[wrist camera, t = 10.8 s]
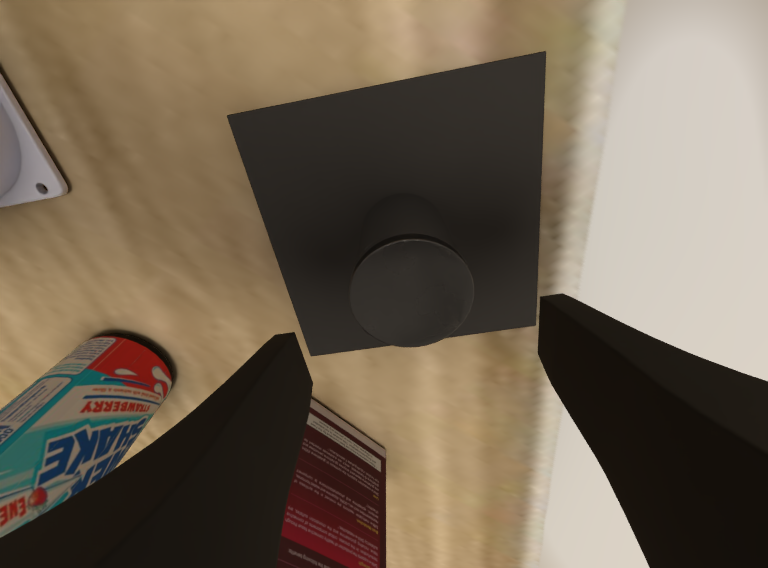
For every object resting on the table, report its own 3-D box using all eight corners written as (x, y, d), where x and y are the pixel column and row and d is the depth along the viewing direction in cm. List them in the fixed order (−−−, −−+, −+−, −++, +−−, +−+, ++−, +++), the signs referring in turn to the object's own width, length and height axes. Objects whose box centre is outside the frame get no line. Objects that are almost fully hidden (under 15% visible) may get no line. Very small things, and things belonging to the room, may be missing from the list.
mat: (311, 352, 22) (310, 356, 22) (229, 115, 16) (226, 115, 16) (533, 321, 21) (536, 325, 21) (542, 52, 15) (546, 50, 14)
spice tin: (369, 279, 19) (362, 354, 14) (351, 200, 17) (335, 251, 12) (449, 266, 19) (477, 339, 13) (441, 184, 17) (470, 228, 11)
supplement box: (261, 422, 26) (112, 817, 12) (305, 389, 24) (192, 800, 10) (346, 476, 29) (308, 842, 15) (389, 450, 27) (394, 831, 13)
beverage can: (164, 409, 25) (-85, 762, 12) (75, 376, 23) (-323, 737, 10) (189, 354, 23) (-87, 718, 9) (92, 313, 21) (-399, 677, 8)
